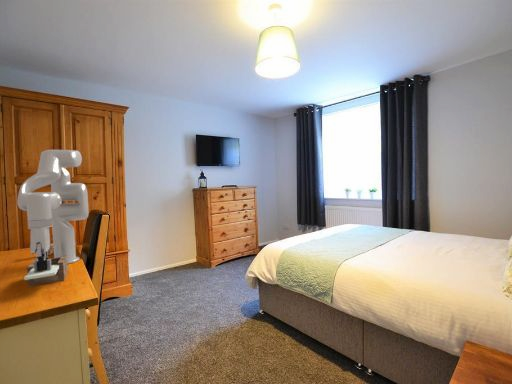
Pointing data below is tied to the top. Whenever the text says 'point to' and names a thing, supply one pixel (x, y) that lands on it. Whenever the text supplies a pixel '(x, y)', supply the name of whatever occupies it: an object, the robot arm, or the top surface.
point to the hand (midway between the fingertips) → (43, 268)
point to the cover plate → (37, 274)
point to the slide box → (57, 277)
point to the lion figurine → (49, 248)
